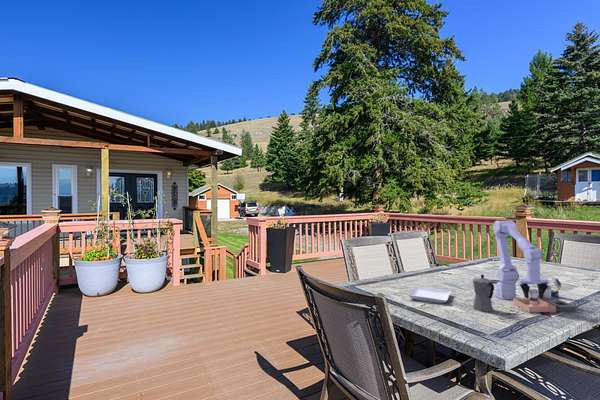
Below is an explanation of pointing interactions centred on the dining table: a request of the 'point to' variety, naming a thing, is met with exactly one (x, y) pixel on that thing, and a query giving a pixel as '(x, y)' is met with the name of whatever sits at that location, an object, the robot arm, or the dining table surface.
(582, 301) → the dining table surface
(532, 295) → the cylinder
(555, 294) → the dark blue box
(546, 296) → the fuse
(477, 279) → the coffeepot
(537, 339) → the dining table surface
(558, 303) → the fuse holder
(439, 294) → the salad plate
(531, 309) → the parts tray
